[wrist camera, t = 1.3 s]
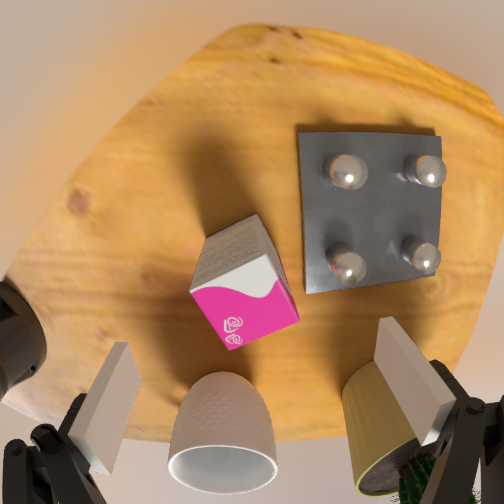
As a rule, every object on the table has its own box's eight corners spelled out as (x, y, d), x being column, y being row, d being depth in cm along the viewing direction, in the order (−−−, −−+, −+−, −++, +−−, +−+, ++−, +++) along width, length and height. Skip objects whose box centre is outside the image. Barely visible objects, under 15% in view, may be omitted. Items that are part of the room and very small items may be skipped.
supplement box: (202, 238, 30) (185, 289, 20) (257, 211, 30) (270, 248, 19) (230, 286, 32) (228, 354, 21) (282, 261, 32) (305, 320, 21)
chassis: (304, 289, 33) (313, 310, 28) (296, 133, 28) (307, 130, 23) (430, 272, 33) (450, 287, 29) (436, 136, 28) (460, 137, 24)
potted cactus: (432, 385, 40) (519, 526, 11) (348, 433, 42) (401, 591, 13) (412, 321, 35) (549, 503, 7) (308, 382, 37) (369, 604, 9)
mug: (216, 437, 40) (214, 510, 28) (152, 405, 38) (133, 481, 25) (285, 383, 37) (302, 466, 25) (214, 341, 34) (207, 429, 22)
